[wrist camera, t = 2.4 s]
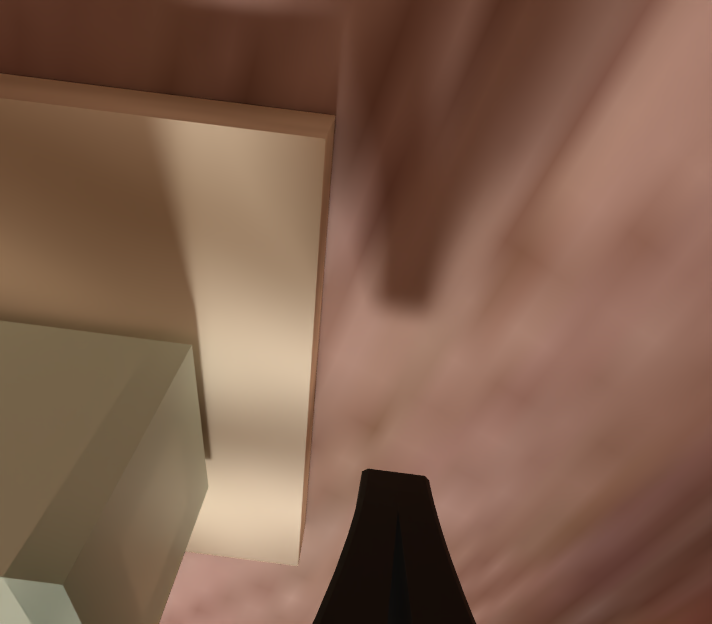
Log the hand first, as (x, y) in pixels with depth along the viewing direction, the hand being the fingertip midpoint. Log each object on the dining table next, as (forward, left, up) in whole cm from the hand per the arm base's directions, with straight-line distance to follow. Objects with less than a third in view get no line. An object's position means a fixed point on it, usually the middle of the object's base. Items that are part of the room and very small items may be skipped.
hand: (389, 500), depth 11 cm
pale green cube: (0, +8, -1) cm, 8 cm away
